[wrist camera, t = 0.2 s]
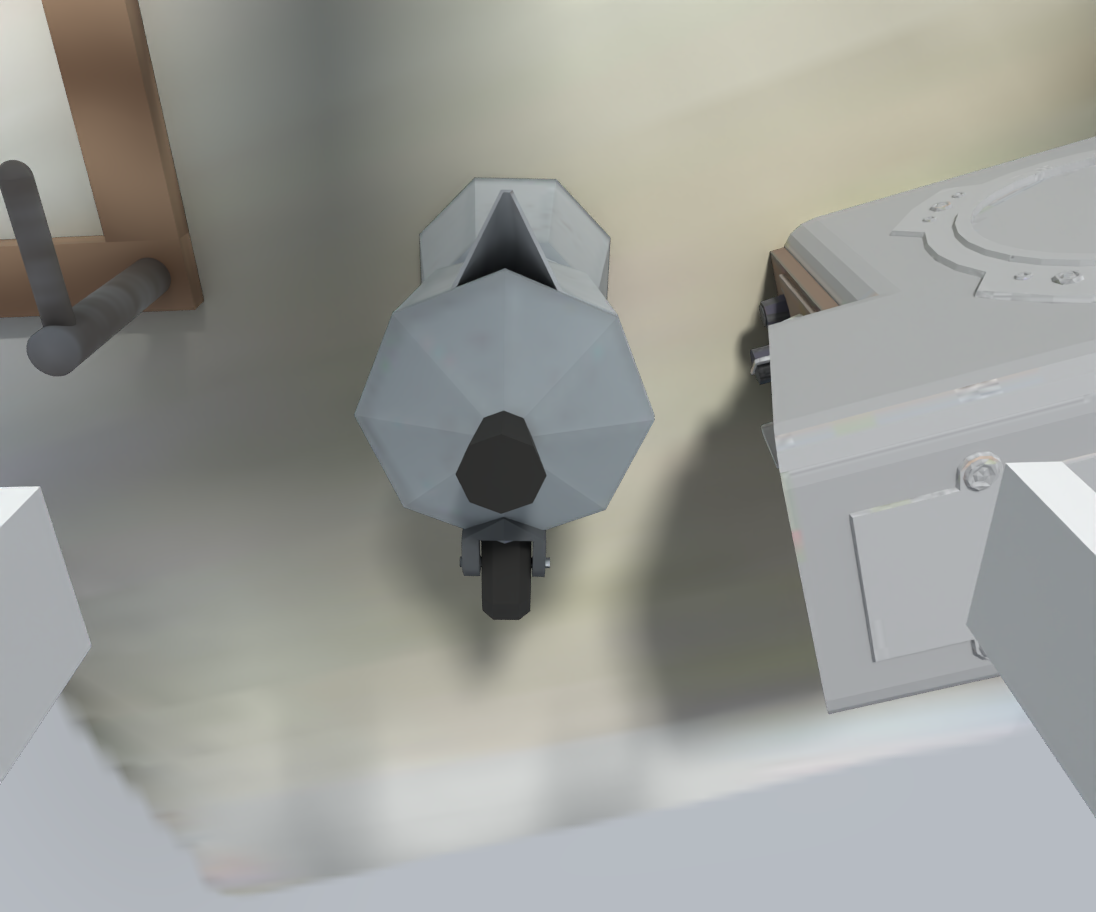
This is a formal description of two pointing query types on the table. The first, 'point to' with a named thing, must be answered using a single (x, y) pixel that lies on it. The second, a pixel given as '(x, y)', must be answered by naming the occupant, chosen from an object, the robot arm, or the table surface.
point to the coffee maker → (507, 381)
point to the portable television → (925, 403)
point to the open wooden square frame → (100, 198)
